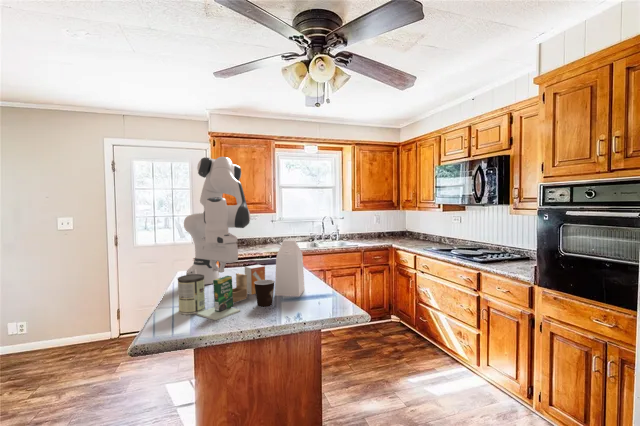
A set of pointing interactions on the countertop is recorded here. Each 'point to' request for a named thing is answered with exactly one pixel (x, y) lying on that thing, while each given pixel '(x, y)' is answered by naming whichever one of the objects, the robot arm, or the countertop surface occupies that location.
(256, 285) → the coffee mug
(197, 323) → the countertop surface
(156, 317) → the countertop surface
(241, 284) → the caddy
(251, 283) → the small box
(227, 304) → the coffee box
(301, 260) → the milk
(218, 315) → the sage green square tile
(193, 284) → the coffee can
